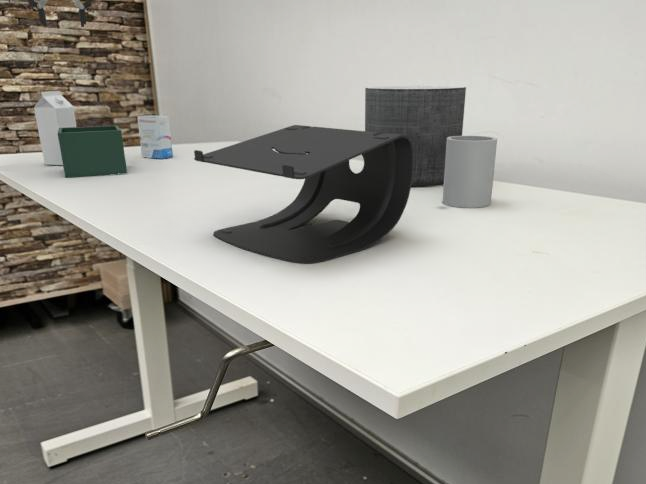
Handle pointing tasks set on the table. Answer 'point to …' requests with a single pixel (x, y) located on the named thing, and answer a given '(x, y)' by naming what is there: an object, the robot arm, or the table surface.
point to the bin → (92, 151)
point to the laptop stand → (322, 189)
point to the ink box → (155, 136)
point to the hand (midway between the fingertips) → (64, 26)
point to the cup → (469, 171)
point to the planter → (418, 122)
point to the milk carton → (53, 124)
